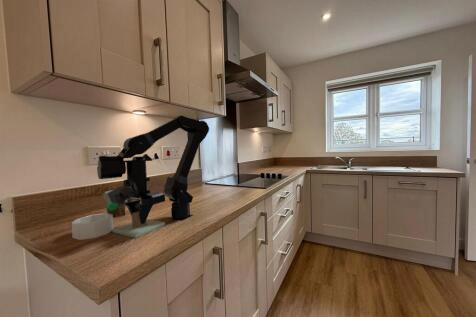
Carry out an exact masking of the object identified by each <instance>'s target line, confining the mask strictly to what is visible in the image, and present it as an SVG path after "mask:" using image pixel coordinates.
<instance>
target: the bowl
mask: <svg viewBox="0 0 476 317" xmlns="http://www.w3.org/2000/svg"><path fill="white" fill-rule="evenodd" d="M113 229H114V218H113V214H107V212H105V213H98V214H97V213H95V214H90V215H87V216H83V217H80V218H79V217H78V218H76V219H75V220H73V221H72V222H71V234H72V236H71V237H72V238H73V239H75V240H78V241H82V240H89V239H97V238H99V237H101V236H105V235H107V234H109V233H110V232H113Z"/></svg>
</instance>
